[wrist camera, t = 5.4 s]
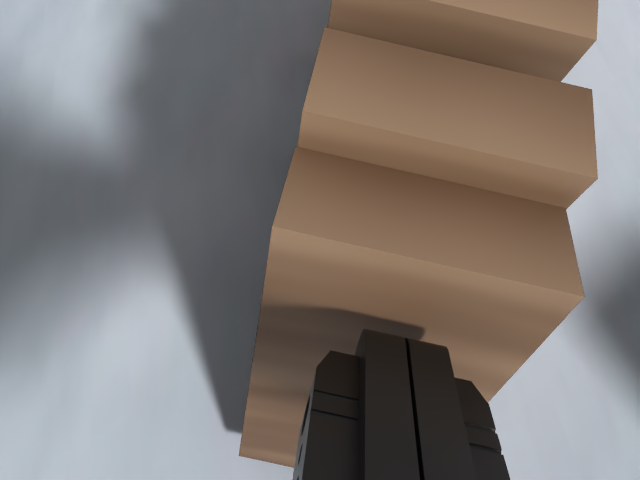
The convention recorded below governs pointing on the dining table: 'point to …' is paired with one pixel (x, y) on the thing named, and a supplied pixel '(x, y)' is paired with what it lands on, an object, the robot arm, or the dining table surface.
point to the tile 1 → (399, 282)
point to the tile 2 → (450, 119)
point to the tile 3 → (480, 30)
